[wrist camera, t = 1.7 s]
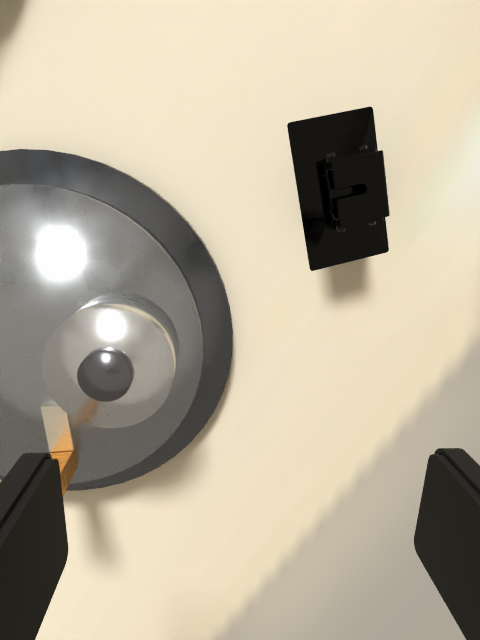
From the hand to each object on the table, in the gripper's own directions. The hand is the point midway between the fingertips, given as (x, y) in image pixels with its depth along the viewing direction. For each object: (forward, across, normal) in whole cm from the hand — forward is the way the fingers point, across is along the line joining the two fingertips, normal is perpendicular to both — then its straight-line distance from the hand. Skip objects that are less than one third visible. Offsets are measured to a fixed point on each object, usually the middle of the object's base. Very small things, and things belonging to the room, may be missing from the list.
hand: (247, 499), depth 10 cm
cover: (+16, +6, +2) cm, 18 cm away
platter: (+18, +12, +2) cm, 21 cm away
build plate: (+20, -7, -8) cm, 23 cm away
